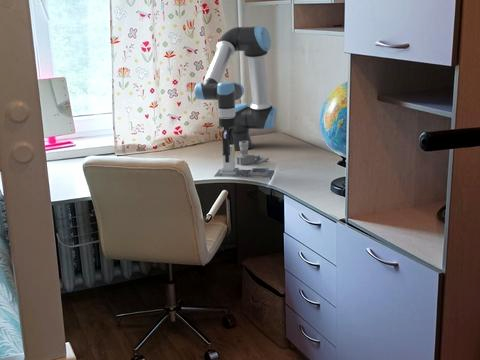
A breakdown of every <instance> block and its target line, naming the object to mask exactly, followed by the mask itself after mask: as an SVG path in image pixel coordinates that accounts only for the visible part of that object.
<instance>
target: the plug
mask: <svg viewBox="0 0 480 360" xmlns="http://www.w3.org/2000/svg"><path fill="white" fill-rule="evenodd" d="M221 149H222V151H223V145H222V147H221ZM235 151H236V150H235V147H234V144H230V155H231V169H225V159H224V155H222V168H223V172H235V168H236V162H235V161H236V160H235V155H236V154H235Z"/></svg>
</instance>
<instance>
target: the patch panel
mask: <svg viewBox="0 0 480 360" xmlns="http://www.w3.org/2000/svg"><path fill="white" fill-rule="evenodd" d="M274 174H275V170H274V169H270V168H269V167H268V168H267V167H260V168H259V167H252V168H251V169H240V168H239V167H235V172H223V167H222V168H220V169H218V170H217V172H216V173H215V175H214V176H213V177H215V178H218V177H219V178H220V177H222V178H223V177H225V178H263V179H265V178H266V179H267V178H269V180H272V178H273V176H274Z"/></svg>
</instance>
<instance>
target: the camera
mask: <svg viewBox="0 0 480 360" xmlns="http://www.w3.org/2000/svg"><path fill="white" fill-rule="evenodd" d="M239 146H240V150H239V155H236V165H239V166H247V165H252V164H256V163H258V164H260V163H264V162H266V161H268V160H270V158H269V157H267V156H264V155H260V154H254V153H253V154H252V153H249V149H248V141H240V142H239Z"/></svg>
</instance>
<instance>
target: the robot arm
mask: <svg viewBox="0 0 480 360" xmlns="http://www.w3.org/2000/svg"><path fill="white" fill-rule="evenodd" d="M271 40H272V39H271V36H270V32H269V31H268V28H266V27H264V26H236V27H233V28H231V29H229V30H227V31H226V32H225V33H223V34H222V36H221V37H220V38H219V39H218V41H217V43H216V46H215V54H214V55H213V58H212V60H211V62H210V65H209V67H208V70H207V71H206V75H205V77H204V79H203V81H202V82H199V83H196V84H195V86H194V90H193V91H194V96H195V98H196V99H197V100H202V101H217V106H218V109H217V112H216V113H218V126H219V127H220V128H223V130H222V133H221V138H222V146H223V150H222V156H223V155H224V159H225V169H231V155H230V144H234V147H235V151H240V146H239V142H240V141H248V150H249V149H252V148H253V141H252V138H251V135H250V132H249V131H250V130H271V129H273V128H274V126H275V124H276V120H277V108H276V107H274V106H273V103H272V101H270V100H269V99H270V98H269V88H268V75H267V66H266V65H267V64H266V56H267V55H268V52H269V51H270V49H271V44H272V41H271ZM236 52H244V53H243V54H244V57H246V58H247V61H248V71H249V74H248V75H249V82H250V91H251V101H252V102H251V103H250V105H248V103H244V102H243V103H235V102H236V101H237V100H240V99H241V98H242V97H243V96H244V93H245V90H244V85H242V84H241V83H240V82H232V81H222V80H223V76H224V74H225V71H226V69H227V67H228V64H229V62H230V59H231V57H232V56H234V54H235V53H236Z"/></svg>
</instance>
